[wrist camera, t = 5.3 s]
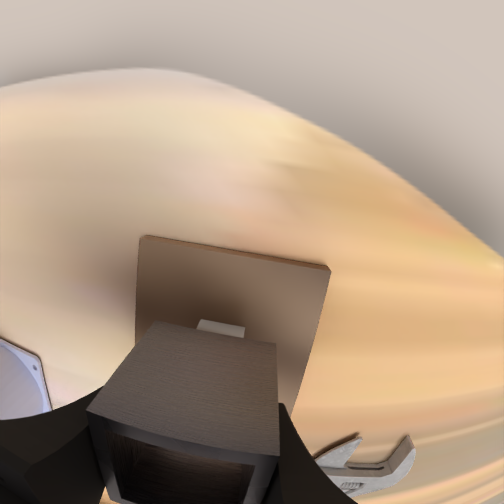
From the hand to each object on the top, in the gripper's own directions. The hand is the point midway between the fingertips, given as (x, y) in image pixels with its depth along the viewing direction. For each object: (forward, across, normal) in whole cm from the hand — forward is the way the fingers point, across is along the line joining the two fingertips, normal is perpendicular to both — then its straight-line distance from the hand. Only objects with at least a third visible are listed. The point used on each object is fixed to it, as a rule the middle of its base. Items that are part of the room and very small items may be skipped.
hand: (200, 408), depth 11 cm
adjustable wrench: (+7, -8, +18) cm, 21 cm away
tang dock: (+7, 0, 0) cm, 7 cm away
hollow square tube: (+2, 0, 0) cm, 2 cm away
